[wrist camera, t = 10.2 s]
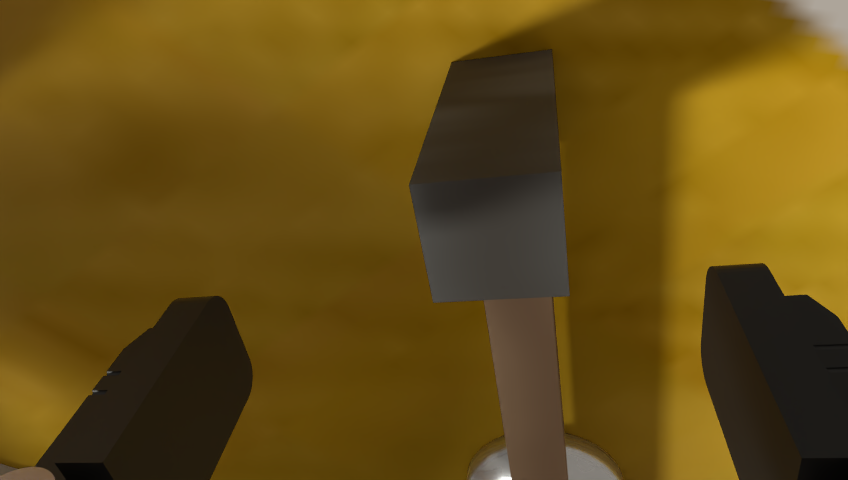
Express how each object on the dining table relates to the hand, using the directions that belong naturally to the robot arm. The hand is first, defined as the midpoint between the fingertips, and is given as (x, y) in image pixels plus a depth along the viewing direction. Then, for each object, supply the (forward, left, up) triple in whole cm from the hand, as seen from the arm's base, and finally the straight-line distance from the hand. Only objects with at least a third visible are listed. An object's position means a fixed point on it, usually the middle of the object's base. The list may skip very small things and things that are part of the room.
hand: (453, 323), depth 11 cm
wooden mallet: (0, -11, -11) cm, 16 cm away
